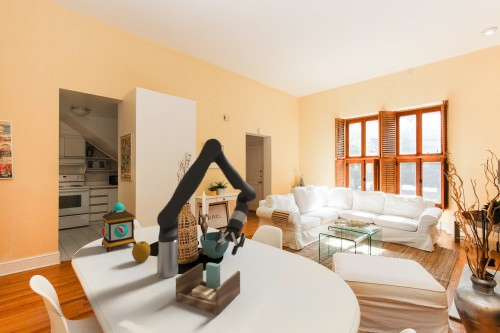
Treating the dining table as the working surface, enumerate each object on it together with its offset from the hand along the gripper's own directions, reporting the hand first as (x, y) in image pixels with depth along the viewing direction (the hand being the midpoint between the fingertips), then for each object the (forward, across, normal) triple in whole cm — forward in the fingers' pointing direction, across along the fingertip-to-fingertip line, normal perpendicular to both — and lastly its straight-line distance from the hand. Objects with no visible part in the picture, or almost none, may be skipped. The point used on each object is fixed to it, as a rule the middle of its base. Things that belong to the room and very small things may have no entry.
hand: (224, 253), depth 105 cm
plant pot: (-10, -25, +31) cm, 41 cm away
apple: (+8, -59, +14) cm, 61 cm away
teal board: (+16, 0, +3) cm, 16 cm away
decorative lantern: (-1, -96, +22) cm, 99 cm away
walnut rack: (+19, 0, +2) cm, 19 cm away
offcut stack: (+21, 0, -1) cm, 21 cm away
